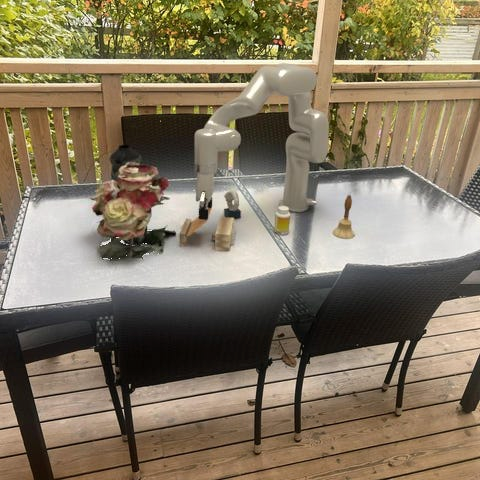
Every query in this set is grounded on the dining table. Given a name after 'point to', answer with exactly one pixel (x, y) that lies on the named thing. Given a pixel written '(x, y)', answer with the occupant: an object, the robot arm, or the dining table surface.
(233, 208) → the watch
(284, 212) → the supplement bottle
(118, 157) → the beer stein
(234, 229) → the pin
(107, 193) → the rose bouquet
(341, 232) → the hand bell
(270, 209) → the dining table surface
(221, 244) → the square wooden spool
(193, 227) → the flap
